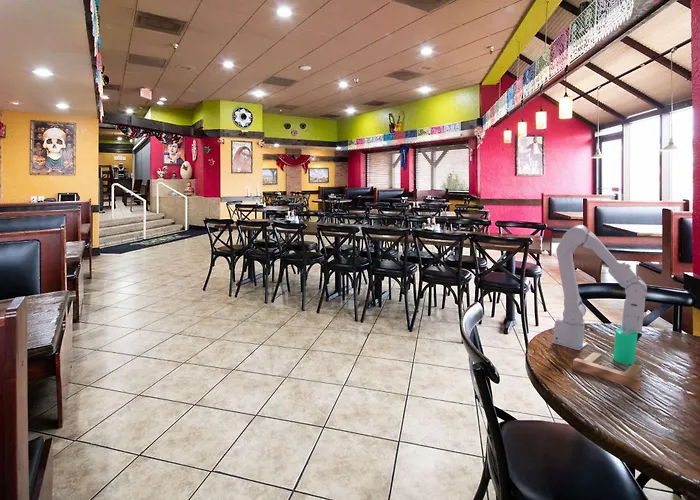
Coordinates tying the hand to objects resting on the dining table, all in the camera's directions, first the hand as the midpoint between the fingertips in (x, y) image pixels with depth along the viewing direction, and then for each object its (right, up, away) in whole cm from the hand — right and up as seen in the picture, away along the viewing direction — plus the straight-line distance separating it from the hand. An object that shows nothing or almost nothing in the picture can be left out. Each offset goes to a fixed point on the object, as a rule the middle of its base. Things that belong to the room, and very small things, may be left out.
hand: (628, 352), depth 140 cm
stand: (-14, -3, -11) cm, 18 cm away
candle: (-4, -2, -3) cm, 5 cm away
